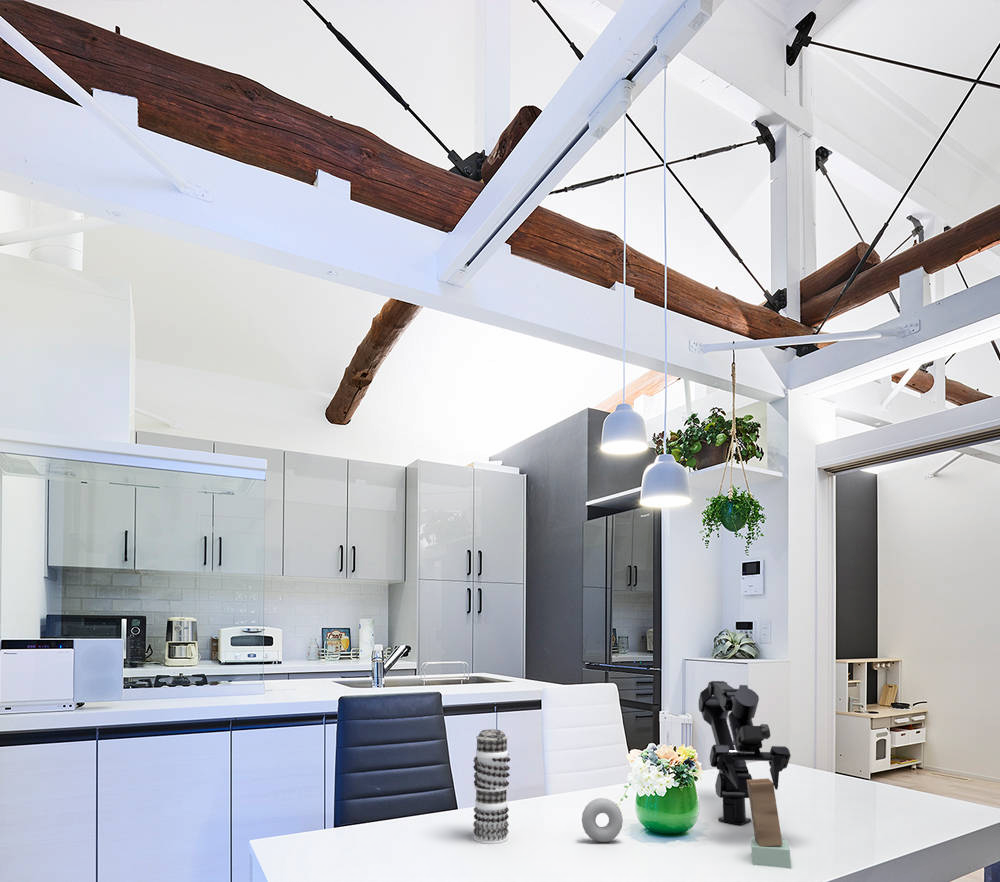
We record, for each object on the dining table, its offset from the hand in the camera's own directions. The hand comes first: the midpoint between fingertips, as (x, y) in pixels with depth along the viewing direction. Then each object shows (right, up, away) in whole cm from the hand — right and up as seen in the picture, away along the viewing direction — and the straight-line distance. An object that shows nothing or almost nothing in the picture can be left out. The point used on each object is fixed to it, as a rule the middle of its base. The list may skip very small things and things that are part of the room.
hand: (757, 788), depth 189 cm
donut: (-37, -14, +2) cm, 39 cm away
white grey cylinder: (-64, -14, +4) cm, 65 cm away
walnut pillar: (-1, -8, -10) cm, 13 cm away
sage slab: (0, -12, -11) cm, 16 cm away
